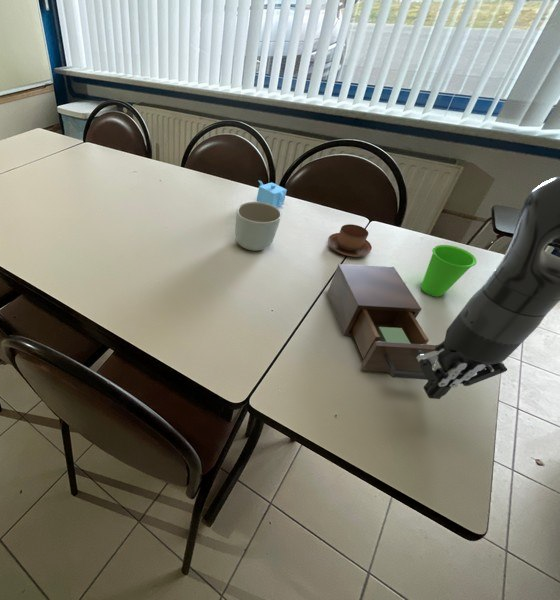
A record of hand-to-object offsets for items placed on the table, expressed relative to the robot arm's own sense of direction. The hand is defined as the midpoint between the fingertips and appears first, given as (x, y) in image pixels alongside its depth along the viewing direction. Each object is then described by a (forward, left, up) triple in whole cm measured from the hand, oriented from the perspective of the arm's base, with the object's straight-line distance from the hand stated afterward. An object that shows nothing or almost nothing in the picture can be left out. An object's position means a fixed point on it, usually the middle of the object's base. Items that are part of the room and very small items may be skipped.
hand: (431, 394), depth 62 cm
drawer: (+14, 0, -7) cm, 16 cm away
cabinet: (+28, 0, -8) cm, 29 cm away
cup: (+39, -21, -8) cm, 45 cm away
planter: (+57, +23, -8) cm, 62 cm away
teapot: (+84, +15, -8) cm, 85 cm away
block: (+15, 0, -6) cm, 16 cm away
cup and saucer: (+57, -5, -8) cm, 57 cm away
